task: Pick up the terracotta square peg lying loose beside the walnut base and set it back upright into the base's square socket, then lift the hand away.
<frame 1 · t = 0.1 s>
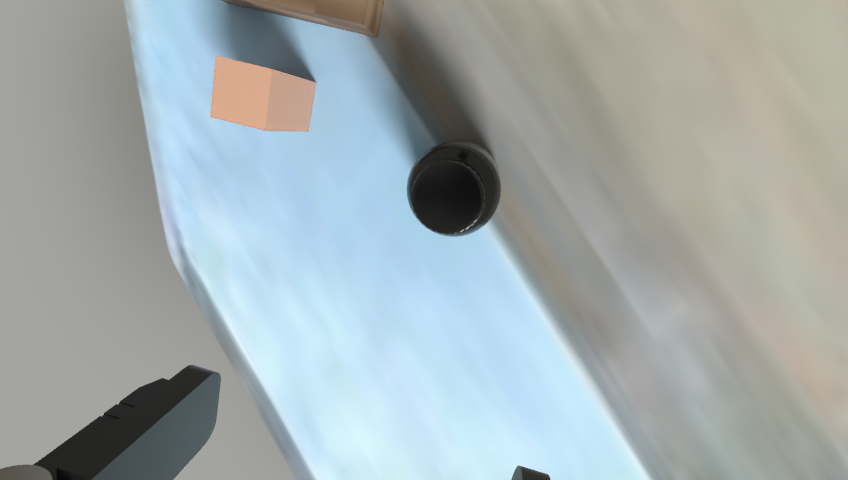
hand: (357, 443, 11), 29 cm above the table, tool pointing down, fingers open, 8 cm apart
supplement bottle: (460, 178, 38), on the table
terracotta peg: (289, 101, 38), on the table
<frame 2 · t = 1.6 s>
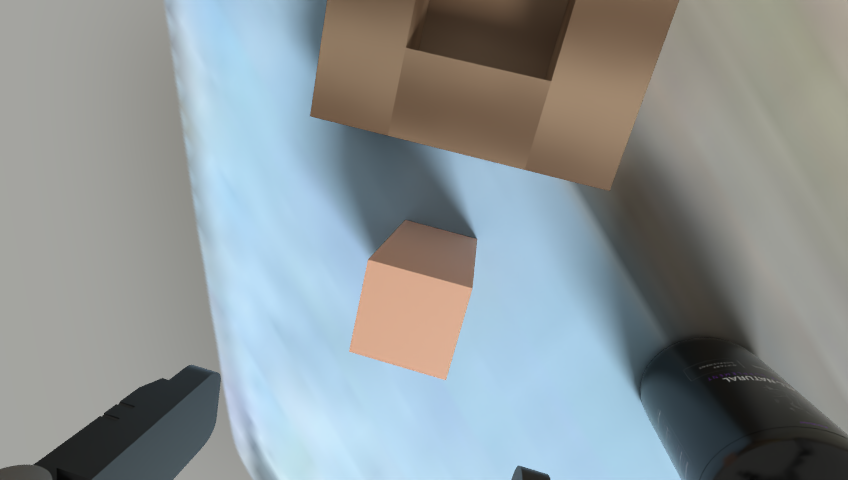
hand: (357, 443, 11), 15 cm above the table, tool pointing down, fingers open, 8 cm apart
supplement bottle: (695, 383, 25), on the table
terracotta peg: (432, 263, 25), on the table
walnut base: (496, 12, 21), on the table
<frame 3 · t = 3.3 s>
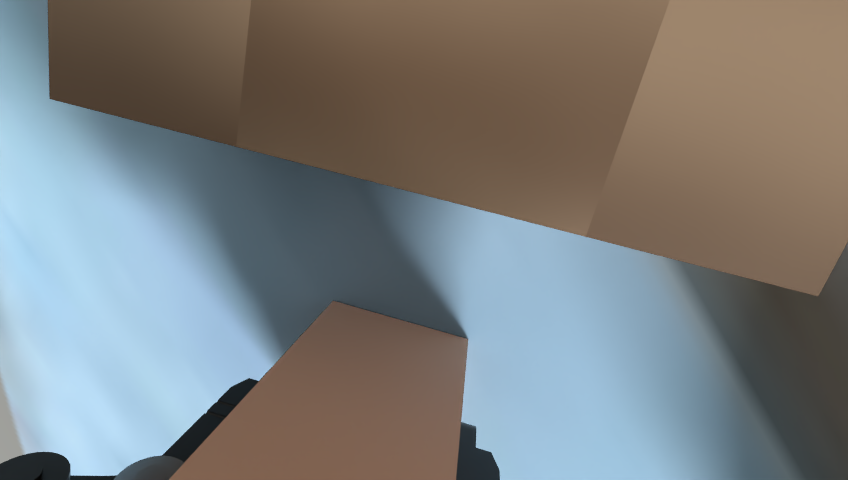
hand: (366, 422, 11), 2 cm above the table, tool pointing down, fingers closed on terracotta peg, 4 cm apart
terracotta peg: (385, 378, 14), on the table, touching gripper
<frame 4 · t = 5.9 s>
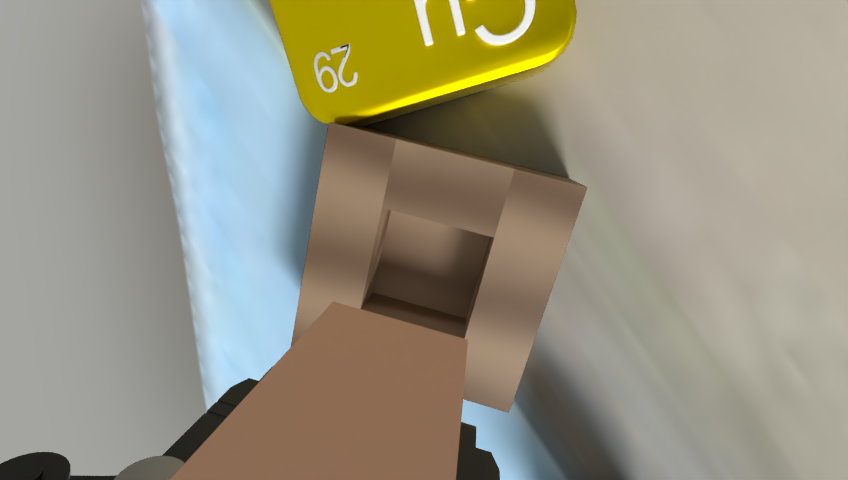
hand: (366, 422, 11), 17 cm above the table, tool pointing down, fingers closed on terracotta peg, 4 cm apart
terracotta peg: (385, 379, 14), point 15 cm above the table, touching gripper
walnut base: (433, 254, 28), on the table
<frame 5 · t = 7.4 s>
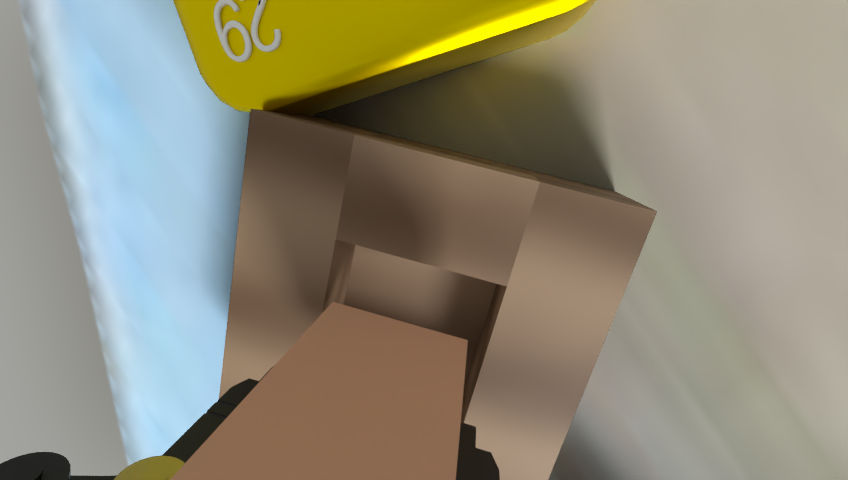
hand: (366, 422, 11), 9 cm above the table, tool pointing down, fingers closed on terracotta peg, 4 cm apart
terracotta peg: (385, 379, 14), point 7 cm above the table, touching gripper
walnut base: (419, 294, 20), on the table
when the fingers open (5 cm above the table, at t = 8.5 s): terracotta peg drops 2 cm, resting on walnut base.
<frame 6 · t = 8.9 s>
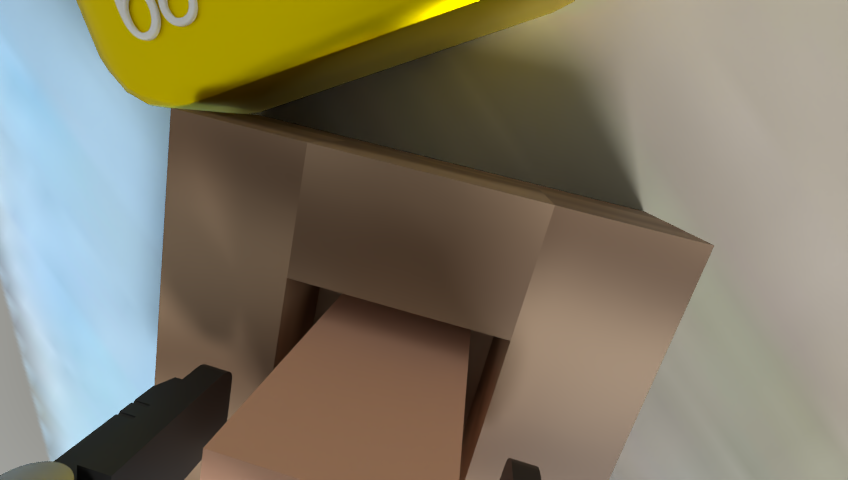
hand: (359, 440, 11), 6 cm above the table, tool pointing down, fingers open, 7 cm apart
terracotta peg: (397, 354, 15), point 1 cm above the table, touching walnut base
walnut base: (402, 334, 17), on the table
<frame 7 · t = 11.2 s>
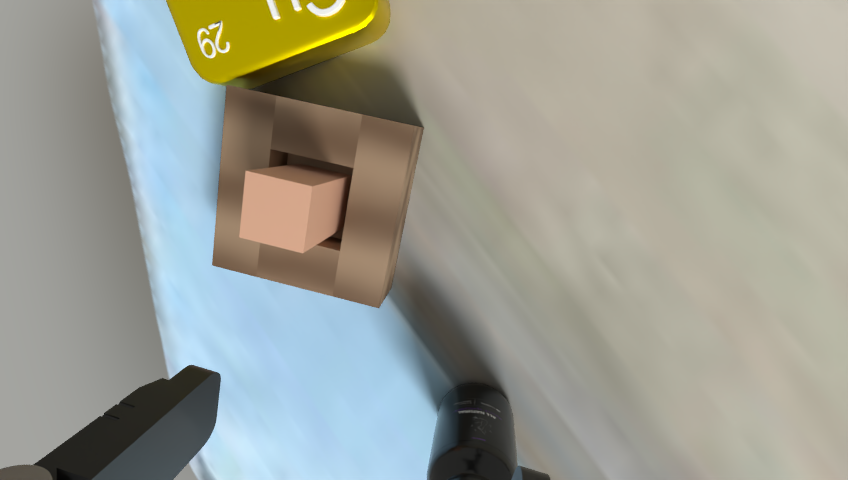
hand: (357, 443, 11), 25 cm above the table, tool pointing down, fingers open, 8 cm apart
supplement bottle: (474, 411, 39), on the table
terracotta peg: (321, 196, 34), point 1 cm above the table, touching walnut base
walnut base: (327, 193, 35), on the table
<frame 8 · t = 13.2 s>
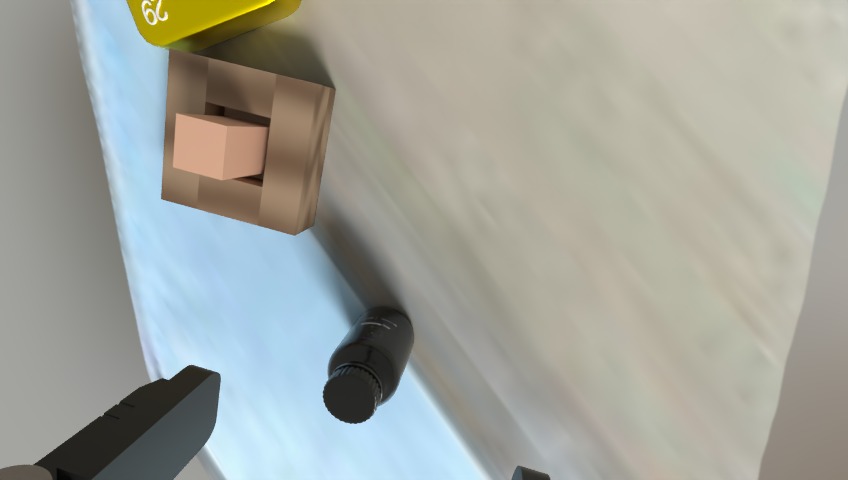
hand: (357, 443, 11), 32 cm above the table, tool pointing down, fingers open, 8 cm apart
supplement bottle: (384, 332, 46), on the table
terracotta peg: (252, 144, 41), point 1 cm above the table, touching walnut base
walnut base: (259, 144, 43), on the table
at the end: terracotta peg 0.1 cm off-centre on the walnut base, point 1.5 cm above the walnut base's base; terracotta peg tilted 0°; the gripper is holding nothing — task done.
